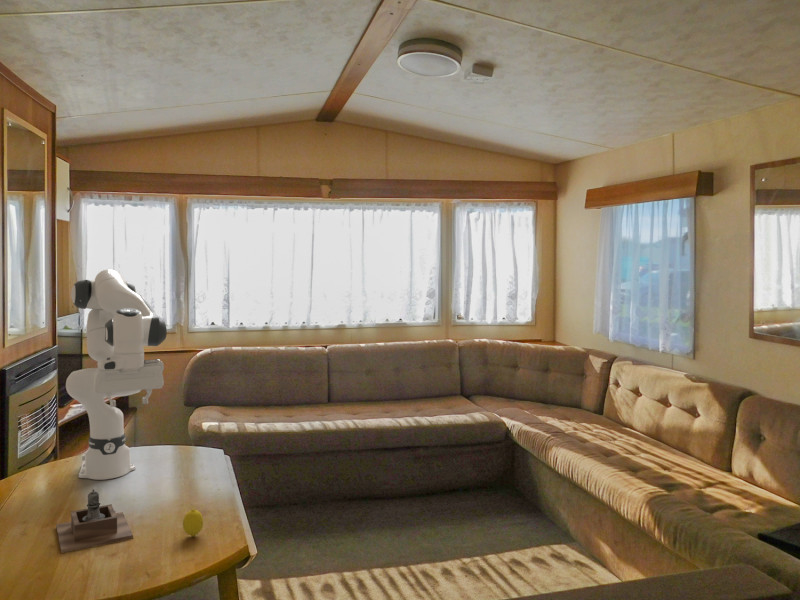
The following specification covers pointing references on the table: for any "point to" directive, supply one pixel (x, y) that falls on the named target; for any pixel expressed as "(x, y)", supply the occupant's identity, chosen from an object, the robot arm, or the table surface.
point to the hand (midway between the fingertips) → (129, 404)
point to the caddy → (93, 530)
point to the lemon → (193, 522)
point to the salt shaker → (93, 507)
